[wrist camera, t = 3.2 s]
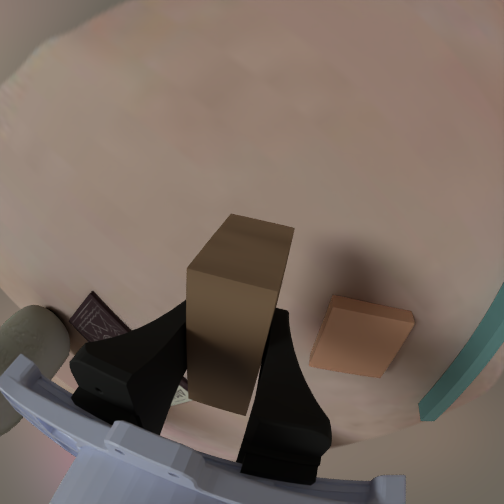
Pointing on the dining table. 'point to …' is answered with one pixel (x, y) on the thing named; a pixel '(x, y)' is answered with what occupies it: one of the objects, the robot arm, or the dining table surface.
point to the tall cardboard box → (233, 309)
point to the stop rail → (467, 362)
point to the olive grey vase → (31, 349)
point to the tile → (360, 337)
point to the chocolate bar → (109, 331)
